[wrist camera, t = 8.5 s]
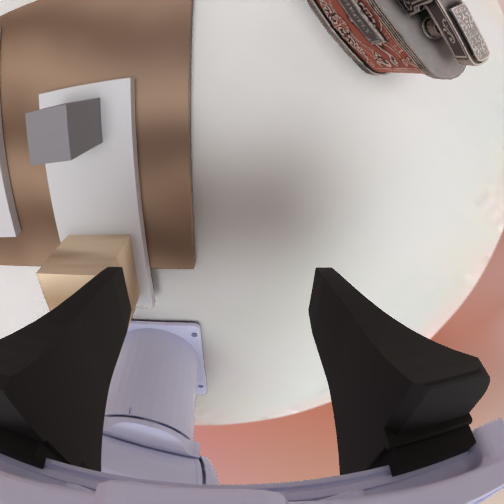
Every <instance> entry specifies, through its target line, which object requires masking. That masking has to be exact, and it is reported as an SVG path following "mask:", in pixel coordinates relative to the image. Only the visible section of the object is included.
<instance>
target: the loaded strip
mask: <svg viewBox="0 0 504 504" xmlns="http://www.w3.org/2000/svg"><path fill="white" fill-rule="evenodd" d="M39 109H40V110H36V111H32V112H28V113H25V118H26V129H27V138H28V147H29V155H30V162H31V166H33V165H40V164H45V166H46V173H47V179H48V185H49V191H50V196H51V201H52V207H53V211H54V216H55V221H56V225H57V230H58V234H59V238H60V242H61V243H62V241H63V240H64V239H65V238H66V237H67V236H68V235H109V234H130V238H131V244H132V251H133V257H134V262H135V268H136V274H137V279H138V284H139V289H140V296H139V299H138V302H137V304H136V307H135V308H154V304H155V296H154V290H153V284H152V278H151V271H150V265H149V258H148V251H147V244H146V236H145V228H144V220H143V211H142V202H141V192H140V181H139V169H138V155H137V139H136V118H135V78H124V79H116V80H109V81H103V82H96V83H91V84H85V85H80V86H74V87H69V88H65V89H60V90H55V91H51V92H47V93H43V94H39Z"/></svg>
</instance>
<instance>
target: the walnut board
mask: <svg viewBox="0 0 504 504" xmlns="http://www.w3.org/2000/svg"><path fill="white" fill-rule="evenodd" d="M192 16H193V0H37V1H35V2H32V3H30V4H27V5H25V6H22V7H20V8H17V9H15V10H13V11H11V12H8V13H6V14H4V15H2V16H0V28H1V37H0V104H1V118H2V129H3V138H4V146H5V153H6V160H7V167H8V172H9V178H10V183H11V189H12V194H13V198H14V203H15V207H16V212H17V216H18V220H19V224H20V228H21V231H22V232H21V233H20V234H19V235H18V236H16V237H0V265H13V266H42V265H43V264H44V263H45V262H46V260H47V259H48V258H49V257H50V256H51V254H52V253H53V252H54V251H55V250H56V248H57V247H58V246H59V245H60V244H61V242H60V238H59V234H58V230H57V225H56V221H55V216H54V211H53V207H52V201H51V196H50V191H49V185H48V179H47V173H46V166H45V164H40V165H33V166H31V162H30V155H29V147H28V138H27V129H26V118H25V113H28V112H32V111H36V110H40V109H39V94H43V93H47V92H51V91H55V90H60V89H65V88H69V87H74V86H80V85H85V84H91V83H96V82H103V81H109V80H116V79H124V78H135V118H136V139H137V155H138V169H139V181H140V192H141V202H142V211H143V220H144V228H145V236H146V244H147V251H148V258H149V265H150V269H194V267H195V244H194V226H193V204H192V176H191V123H190V92H191V41H192Z"/></svg>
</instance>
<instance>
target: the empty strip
mask: <svg viewBox="0 0 504 504" xmlns="http://www.w3.org/2000/svg"><path fill="white" fill-rule="evenodd" d="M0 37H1V28H0ZM21 232H22V231H21V228H20V224H19V220H18V216H17V212H16V207H15V203H14V198H13V194H12V189H11V183H10V178H9V172H8V167H7V160H6V153H5V146H4V138H3V129H2V118H1V104H0V237H16V236H18V235H19V234H20V233H21Z"/></svg>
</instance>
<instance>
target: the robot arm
mask: <svg viewBox="0 0 504 504" xmlns="http://www.w3.org/2000/svg"><path fill="white" fill-rule="evenodd" d="M131 311H132V308H131V304H130V300H129V296H128V291H127V287H126V282H125V277H124V272H123V268H122V267H107V268H105V269H104V270H102V271H101V272H100V273H99V274H97V275H96V276H95V277H93V278H92V279H91V280H90V281H89V282H87V283H86V284H85V285H84V286H82V287H81V288H80V289H79V290H78V291H76V292H75V293H74V294H73V295H71V296H70V297H69V298H67V299H66V300H65V301H63V302H62V303H61V304H59V305H58V306H57V307H56V308H54V309H53V310H51V311H50V312H48V313H47V314H45V315H44V316H42V317H41V318H39V319H38V320H36V321H34V322H33V323H31V324H29V325H27V326H26V327H24V328H22V329H20V330H18V331H16V332H14V333H13V334H11V335H8V336H6V337H4V338H2V339H0V504H479V503H480V502H482V501H484V500H486V499H487V498H489V497H491V496H492V495H494V494H495V493H497V492H498V491H500V490H501V489H502V488H504V422H503V420H502V418H498V419H495V420H493V421H491V422H489V423H486V424H484V425H482V426H480V427H478V428H476V429H475V430H473V431H471V429H470V427H469V424H471V422H472V417H471V416H470V414H469V412H470V411H471V410H472V408H473V407H474V406H475V405H476V404H477V402H478V401H479V400H480V399H481V397H482V396H483V395H484V393H485V392H486V390H487V388H488V385H489V383H490V376H489V375H488V373H487V372H486V370H485V368H484V367H483V365H482V363H481V362H480V360H479V359H478V358H477V357H474V356H471V355H468V354H465V353H462V352H459V351H455V350H453V349H450V348H448V347H445V346H443V345H441V344H438V343H436V342H434V341H432V340H430V339H428V338H426V337H424V336H422V335H420V334H418V333H416V332H414V331H413V330H411V329H409V328H407V327H406V326H404V325H403V324H401V323H400V322H398V321H396V320H395V319H393V318H392V317H390V316H389V315H388V314H386V313H385V312H383V311H382V310H381V309H380V308H378V307H377V306H376V305H374V304H373V303H372V302H371V301H369V300H368V299H367V298H366V297H365V296H363V295H362V294H361V293H360V292H359V291H358V290H356V289H355V288H354V287H353V286H352V285H351V284H350V283H349V282H348V281H346V280H345V279H344V278H343V277H342V276H341V275H340V274H339V273H337V272H336V271H335V270H334V269H333V268H316V270H315V276H314V282H313V288H312V294H311V299H310V305H309V316H310V323H311V328H312V333H313V336H314V340H315V343H316V346H317V349H318V352H319V356H320V359H321V362H322V365H323V368H324V371H325V375H326V378H327V381H328V385H329V389H330V395H331V400H332V406H333V412H334V419H335V426H336V433H337V443H338V452H339V466H340V475H339V476H333V477H326V478H320V479H313V480H304V481H295V482H283V483H269V484H250V485H249V484H247V485H219V484H218V477H217V473H216V470H215V468H214V467H213V465H212V463H211V462H210V460H209V459H208V458H207V457H204V456H200V443H198V442H195V441H193V439H194V422H195V407H196V395H204V394H206V393H207V386H206V377H205V368H204V359H203V349H202V340H201V329H200V326H199V325H198V324H197V323H181V322H151V321H131V322H130V324H129V321H130V316H131ZM128 326H129V327H128ZM193 333H197V334H193Z"/></svg>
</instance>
